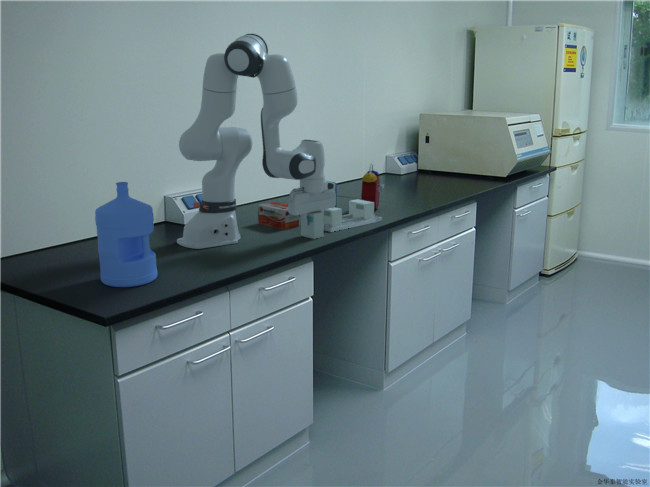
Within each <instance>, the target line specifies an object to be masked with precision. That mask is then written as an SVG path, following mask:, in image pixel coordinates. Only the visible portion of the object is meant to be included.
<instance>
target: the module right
mask: <svg viewBox="0 0 650 487" xmlns="http://www.w3.org/2000/svg"><path fill="white" fill-rule="evenodd" d="M348 214H349V215H350V214H351V215H352V216H353V217H357V218H358V217H363V219H369V218H373V217H374V214H375V210H374V202H369V201H364V200H361V199H358V198H357V199H352V200H349V201H348Z"/></svg>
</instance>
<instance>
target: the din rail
mask: <svg viewBox="0 0 650 487" xmlns="http://www.w3.org/2000/svg"><path fill="white" fill-rule="evenodd" d="M382 221H383V217H382V216H378V215H377V213H374V217H373V218H369V219H363V217H358V218H357V217H353V216H352V215H351V214H350V215H349V213H348V214H344V215H343V214H342V225H337V226H333V227H332V226H330V224H326V225H324V232H327V231H328V233H335V232H334V231H336V232H340V231H343V230H348V228H349V229H352V228H357V227H361V226H365V225H370V224H375V223H378V222H379V223H380V222H382ZM339 230H340V231H339Z"/></svg>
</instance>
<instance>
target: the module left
mask: <svg viewBox="0 0 650 487" xmlns="http://www.w3.org/2000/svg"><path fill="white" fill-rule="evenodd" d="M342 215H343V209H342V208H339V207H336V208H335V207H334V208H331V209H326V210H324V225H326V224H330V226H332V227H333V226H337V225H342Z"/></svg>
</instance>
